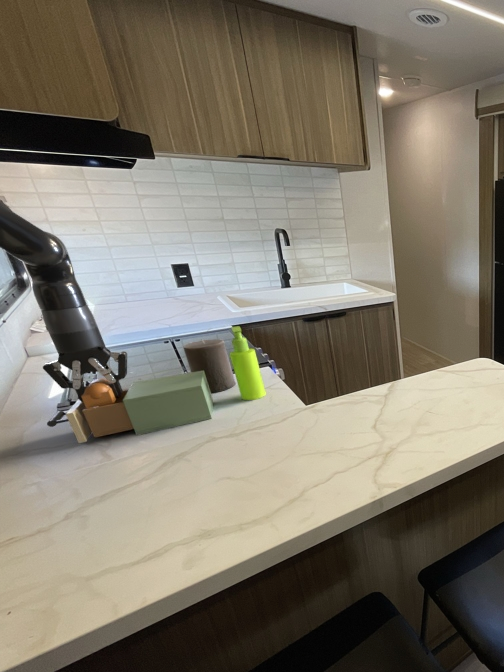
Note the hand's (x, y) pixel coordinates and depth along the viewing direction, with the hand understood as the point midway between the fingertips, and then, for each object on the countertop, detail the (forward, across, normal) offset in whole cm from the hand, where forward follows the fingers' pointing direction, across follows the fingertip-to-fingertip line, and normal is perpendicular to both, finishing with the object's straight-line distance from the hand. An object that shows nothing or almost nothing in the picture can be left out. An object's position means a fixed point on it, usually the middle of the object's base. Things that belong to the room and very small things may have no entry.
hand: (103, 399), depth 93 cm
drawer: (+7, 0, 0) cm, 7 cm away
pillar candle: (+8, -20, -18) cm, 28 cm away
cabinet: (+8, -12, 0) cm, 14 cm away
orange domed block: (0, 0, 0) cm, 0 cm away
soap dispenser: (+8, -29, -3) cm, 30 cm away
